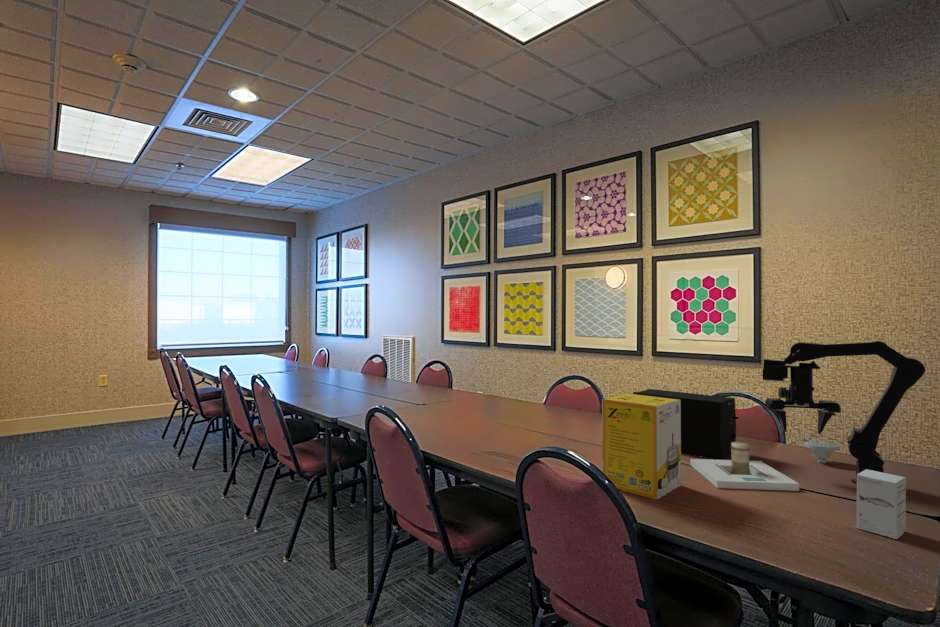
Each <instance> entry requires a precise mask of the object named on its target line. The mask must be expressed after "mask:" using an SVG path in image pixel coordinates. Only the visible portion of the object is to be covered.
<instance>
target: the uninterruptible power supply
mask: <svg viewBox="0 0 940 627" xmlns="http://www.w3.org/2000/svg"><path fill="white" fill-rule="evenodd" d="M632 394H636V395H645V396H653V397H662V398H670V399H679V400H681V454H683V453H686V454H685V455H688V454H691V455H690V456H693V455H696V456H695V457H699V456H702V457H701V458H704V457H706V458H705V459H709V458H711V459H713V460H714V459H717V460H723V459H724V460H726V459H728V458H729V457H731V456H730V455H731V442H737V441H736V439H737V420H739V416H736V398H735V397H728V396H719V395H710V394H709V395H708V394H702V393H701V394H699V393H691V392H682V391H681V392H680V391H675V390H673V391H672V390H662V389H653V388H647V389H646V390H641V391H633V392H632ZM728 456H729V457H728ZM727 457H728V458H727ZM725 458H726V459H725Z"/></svg>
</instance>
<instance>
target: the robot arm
mask: <svg viewBox="0 0 940 627" xmlns="http://www.w3.org/2000/svg"><path fill="white" fill-rule="evenodd" d="M872 355H873V356H874V355H876V356H878V357H880V358H881V359H883V360H884V361H886V362H887V363H888V364H890V365H891V366H893V367H892V368H893V369H892V371H891V375H890V378H889V382H888V385H887V387H886V388H885V390H884V392H883V394H882V395H881V397H880V398H879V400H878V401H877V403H876V405H875V407H873V410H872V412H871V413H870V415H869V417H868V418H867V420H866V422H864V424H863V426H862V427H861V428H855V427H852V429H851V433H850V434H849V436H847V437H846V441H847V448H848V452H849V453H850V455H851V456H852V457H853V458H855V459H856V463H855V464H856V465H855V477H856V478H855V479H853V478H852V479H850V481H851V482H852V483H854V484H856V485H857V474H859V473H860V472H862V471H864V470H866V469H868V470H873V471H878V472H882V473H885V472H884V470H885V468H884V464H885V462H884V459H883V457H882V455H881V454H880V453H878V452H877V450H876V448H877V446H878V442H879V438H880V435H881V433H882V431H883V429H884V427H885V426H887V425H886V424H887V423H888V421H889V420H890V418H891V416H892V415H893V413H894V411H895V410H896V408H897V407H898V405H899V403H900V402H901V400H902V398H903V397H904V395H905V394H906V393H907V391H908V390H910V388H912V387H913V386H914V385H915V384H916V383H918V381H919V380H920V379H921V378H922V377H923V376H924V375H925V373H926V367H925V365H924V364H923V363H922V362H921V361H920V360H918V359H916V358H913V357H908V356H907V357H906V356H905V355H903V354H902V353H900V352H898V351H896V350H895V349H894V348H892V347H890V346H889V345H888V344H887V343H886V342H884V341H881V340H880V341H879V340H874V341H868V342H867V341H866V342H847V343H833V344H832V343H829V344H828V343H827V344H825V343H817V342H816V343H815V342H805V341H803V342H802V341H799V342H795V343H794V344H793V345H792V346H791V347H790V349H789V355H788V356H787V357H785V358H784V360H777V359H774V360H773V359H768V358H767V359H766V358H765V359H763V366H762V368H763V369H762V380H763V381H769V382H785V379H789V368H790V380H789V381H790V384H789V386H788V389H787V388H786V387H778V390H777V391H778V393H777V394H778V398H775V397H767V398H766V399H765V402H764V403H765V404H764V406H765V407H766V408H767V409H769V410H771V411H772V412H773V413H775V414H776V416H777V418H778V420H779V423H780V425H781V428H782V432H784V433H786V432H787V411H786V410H784V409H785V408H790V409H791V408H793V409H794V408H795V409H796V408H797V409H817V415H818V417H817V418H818V419H817V434H818V435H821V434H822V433H823V431H824V429H825V427H826V425H827V423H828V422H829V420H830V419H831V417H833V416H836V413H838V414H839V413H842V406H841V404H840V403H839V402H836V401H833V400H824V399H822V400H821V399H819V400H818V402H815V400H814V392H815V387H814V382H813V381H814V378H813V377H814V376H813V374H814V373H813V372H814V370H820V369H821V366H820V365H818V364H817V363H816V361H815V360H817V359H822V358H828V357H847V356H848V357H850V356H852V357H853V356H872ZM806 361H807V362H806ZM808 361H811V362H808ZM797 362H798V365H792V364H795V363H797ZM783 399H785V400H783Z"/></svg>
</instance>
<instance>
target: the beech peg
mask: <svg viewBox="0 0 940 627" xmlns="http://www.w3.org/2000/svg"><path fill="white" fill-rule="evenodd" d="M730 457H731V459H730V460H731V472H730V474H733V475H750V473H749V461H750V444H749V443H747V442H741V441H736V442H731V456H730Z"/></svg>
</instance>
